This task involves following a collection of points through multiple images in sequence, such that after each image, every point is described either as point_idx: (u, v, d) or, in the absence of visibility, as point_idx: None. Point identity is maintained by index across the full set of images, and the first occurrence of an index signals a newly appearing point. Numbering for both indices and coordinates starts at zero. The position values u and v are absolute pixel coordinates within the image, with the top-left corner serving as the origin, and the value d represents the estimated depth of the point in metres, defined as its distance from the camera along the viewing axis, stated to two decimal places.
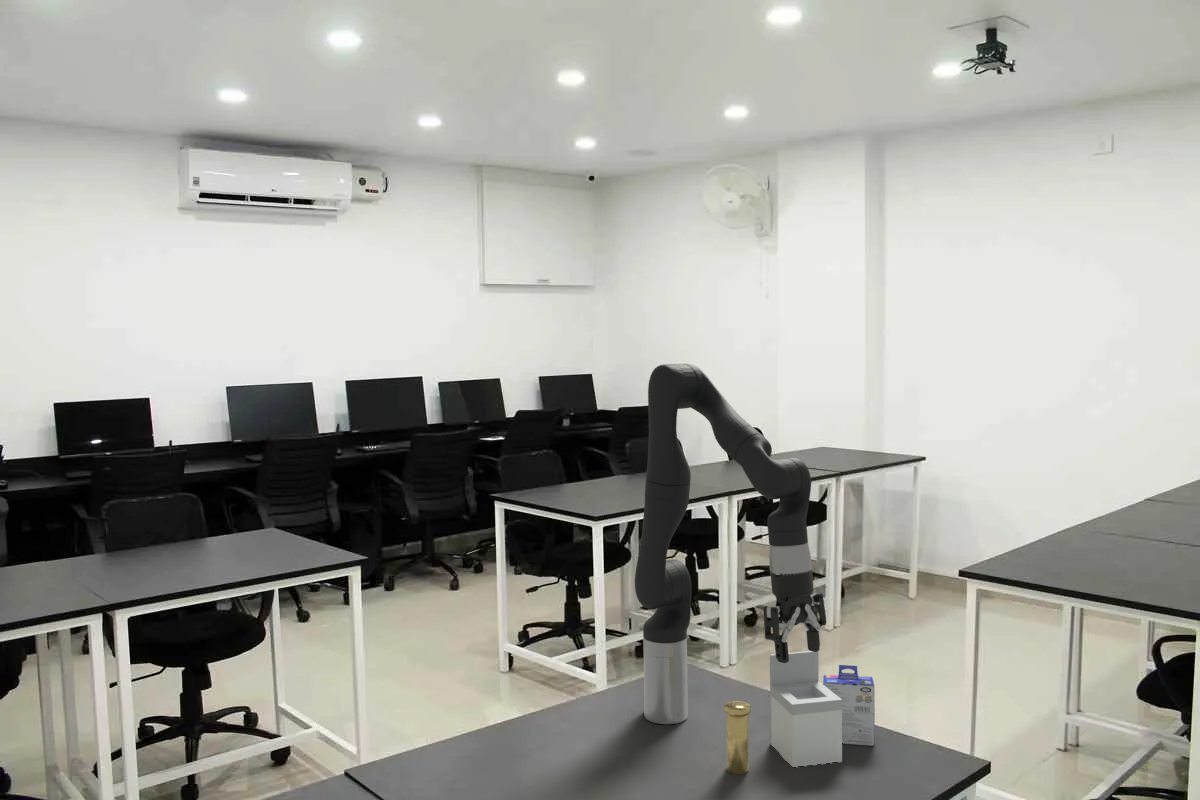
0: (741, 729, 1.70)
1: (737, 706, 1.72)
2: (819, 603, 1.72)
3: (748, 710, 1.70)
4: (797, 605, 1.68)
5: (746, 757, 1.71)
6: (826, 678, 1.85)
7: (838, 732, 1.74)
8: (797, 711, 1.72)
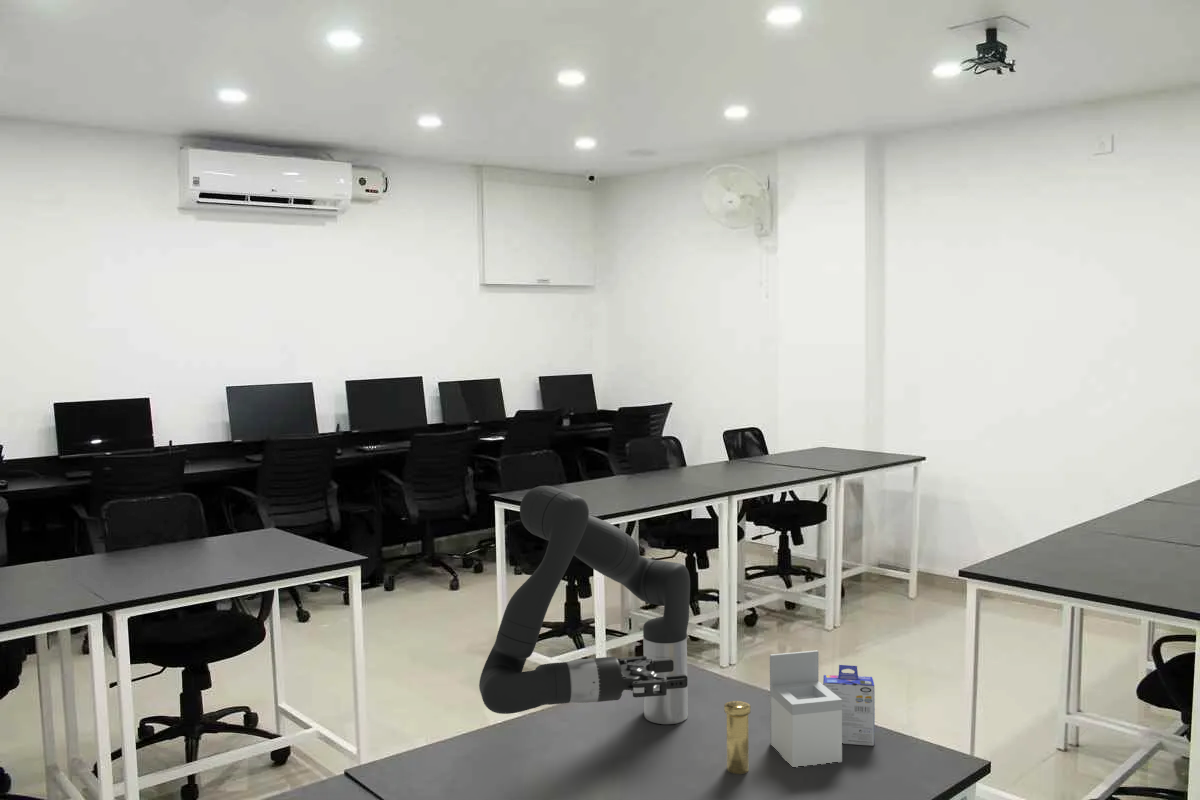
0: (741, 729, 1.70)
1: (737, 706, 1.72)
2: None
3: (748, 710, 1.70)
4: None
5: (746, 757, 1.71)
6: (826, 678, 1.85)
7: (838, 732, 1.74)
8: (797, 711, 1.72)
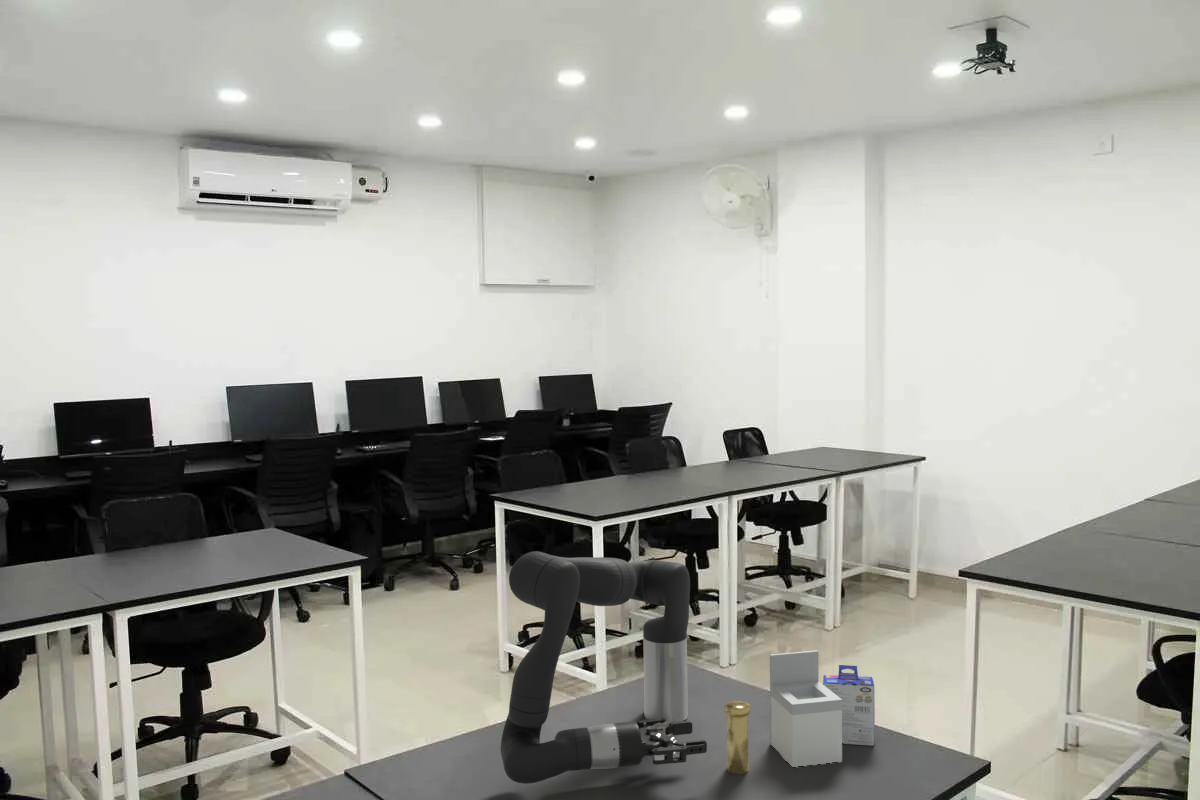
0: (741, 729, 1.70)
1: (737, 706, 1.72)
2: None
3: (748, 710, 1.70)
4: None
5: (746, 757, 1.71)
6: (826, 678, 1.85)
7: (838, 732, 1.74)
8: (797, 711, 1.72)
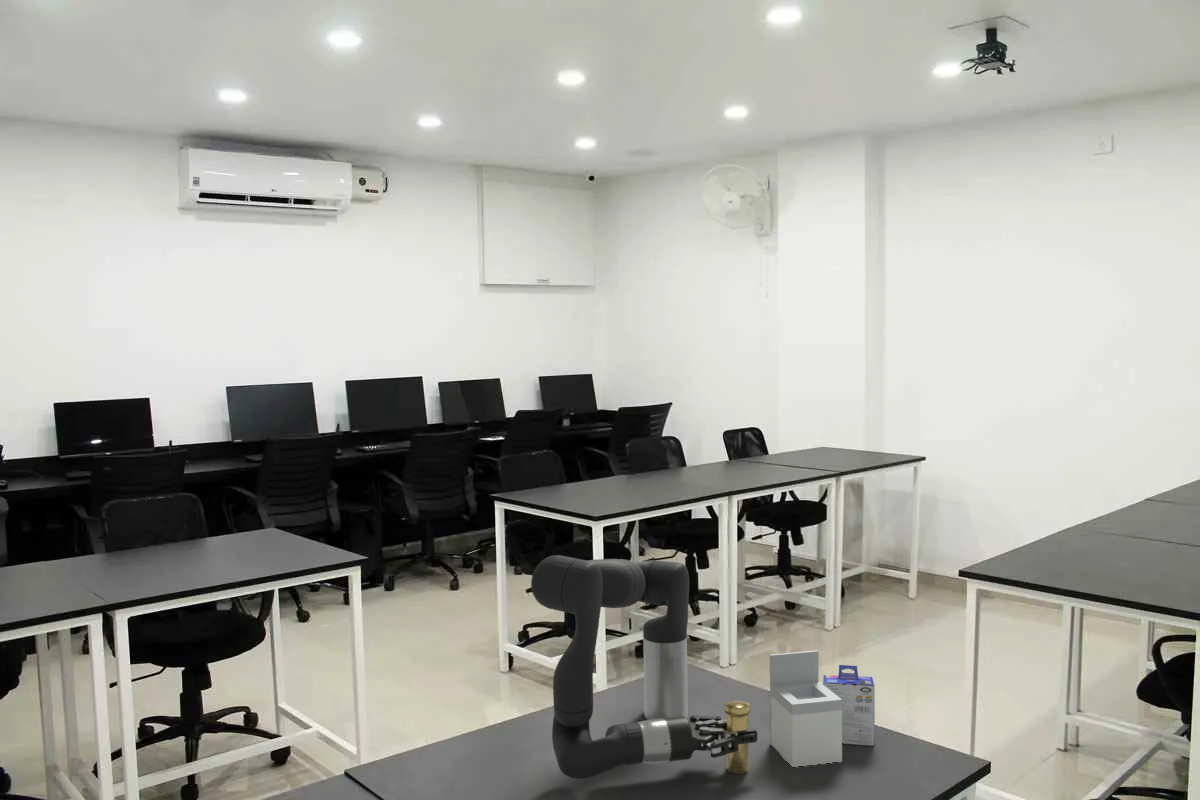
0: (741, 729, 1.70)
1: (737, 706, 1.72)
2: None
3: (748, 710, 1.70)
4: None
5: (746, 757, 1.71)
6: (826, 678, 1.85)
7: (838, 732, 1.74)
8: (797, 711, 1.72)
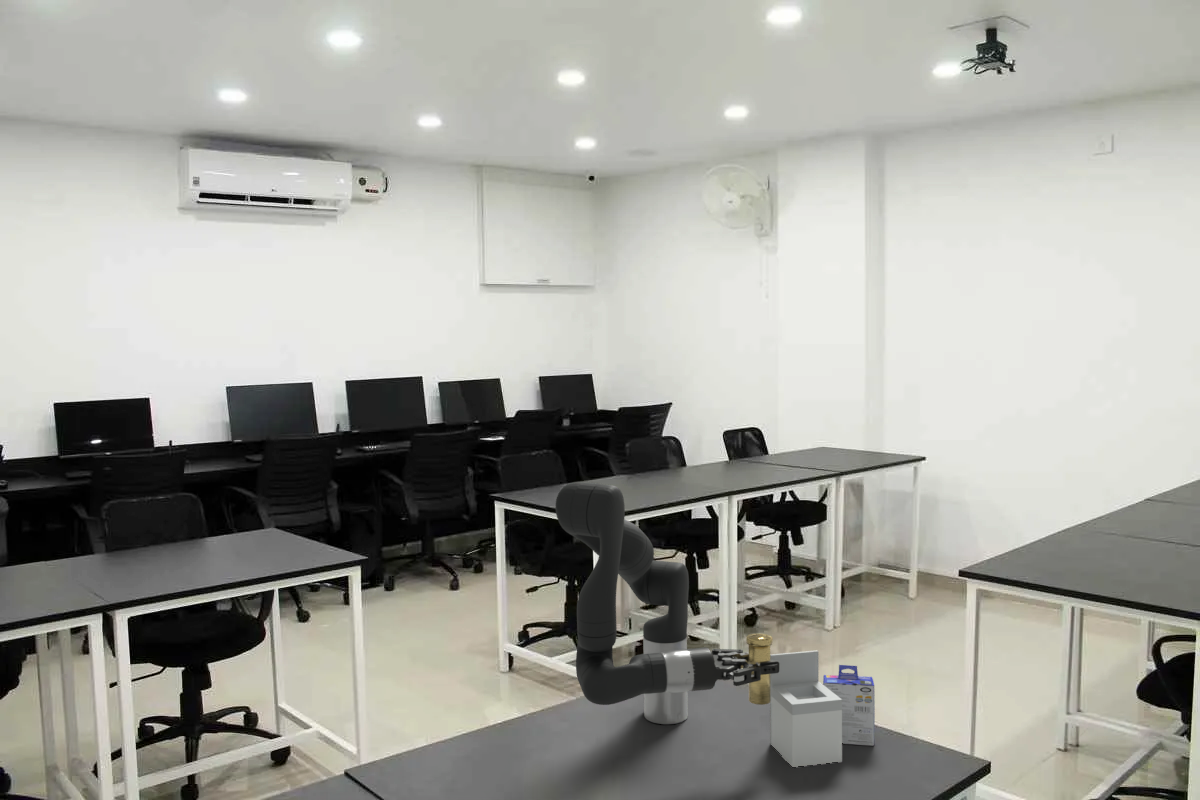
0: (763, 660, 1.71)
1: (759, 638, 1.73)
2: None
3: (770, 641, 1.72)
4: None
5: (768, 688, 1.72)
6: (826, 678, 1.85)
7: (838, 732, 1.74)
8: (797, 711, 1.72)
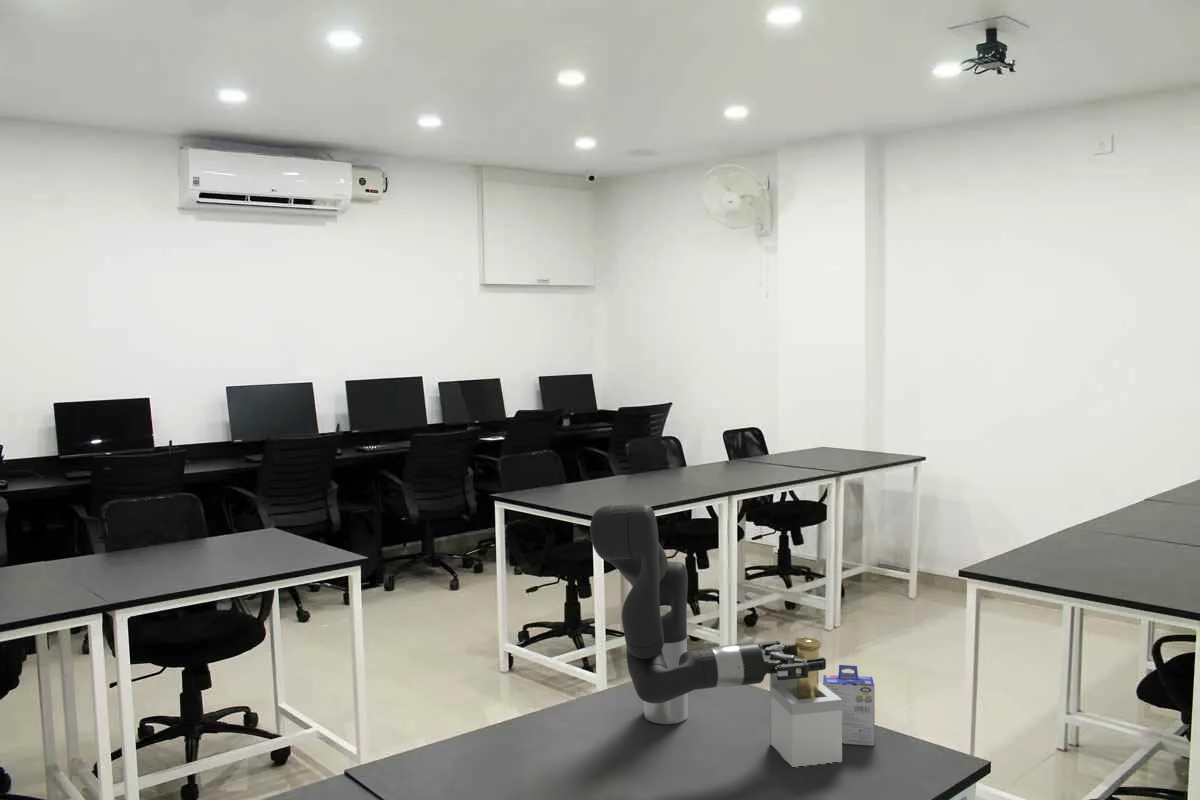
0: None
1: (808, 640, 1.77)
2: None
3: (819, 644, 1.76)
4: None
5: (816, 690, 1.76)
6: (826, 678, 1.85)
7: (838, 732, 1.74)
8: (797, 711, 1.72)
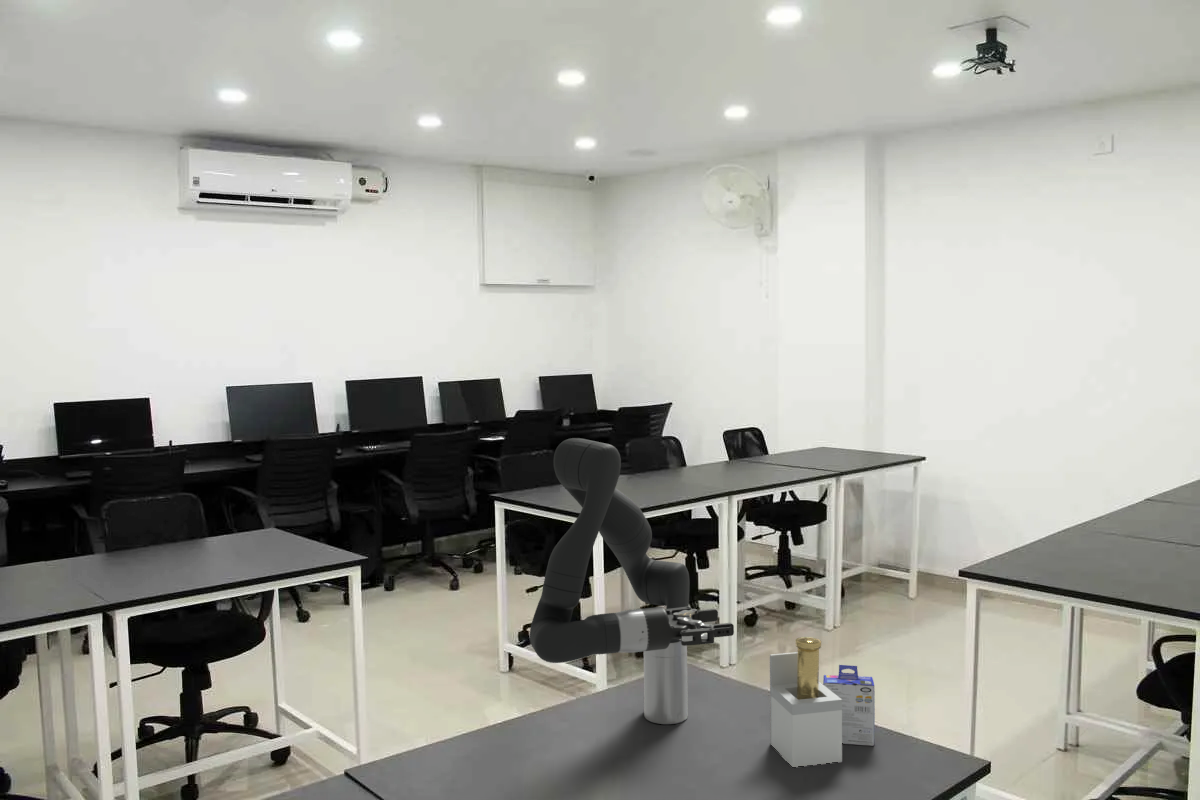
0: (812, 663, 1.76)
1: (808, 641, 1.77)
2: None
3: (819, 644, 1.76)
4: None
5: (816, 691, 1.76)
6: (826, 678, 1.85)
7: (838, 732, 1.74)
8: (797, 711, 1.72)
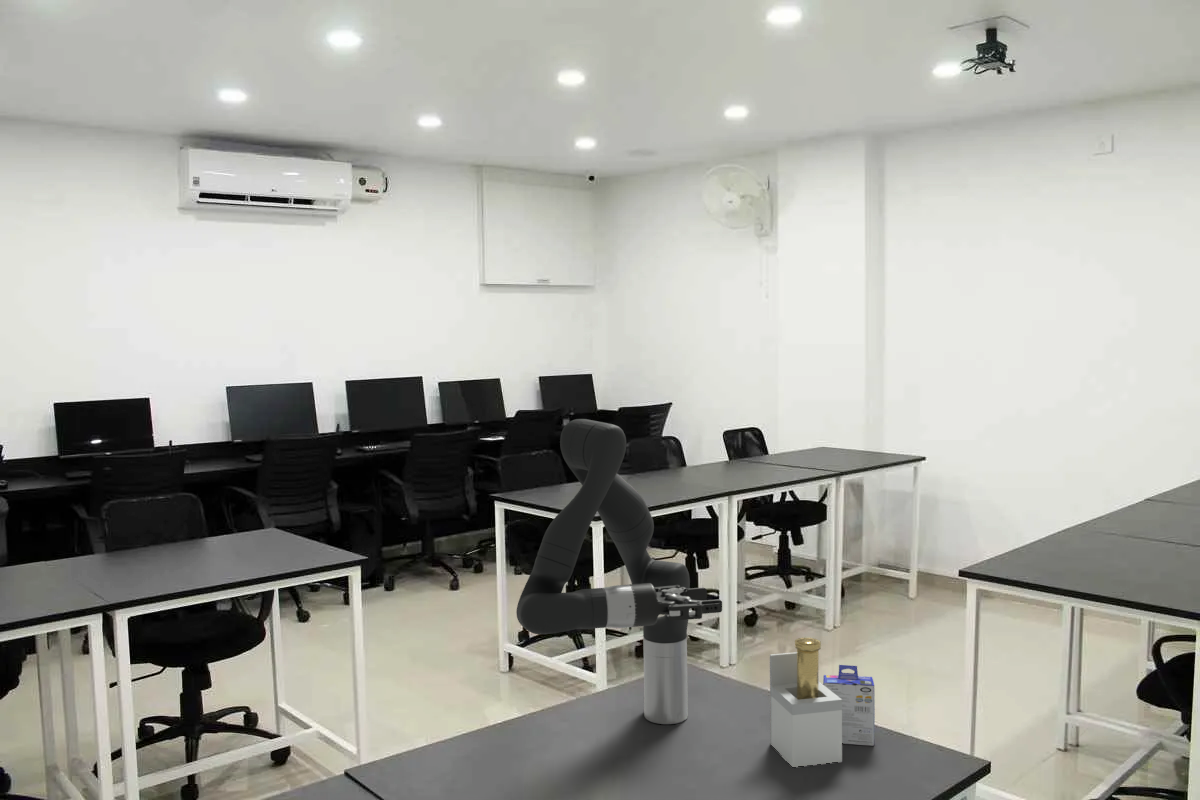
0: (811, 664, 1.75)
1: (807, 642, 1.76)
2: None
3: (819, 646, 1.75)
4: None
5: (816, 691, 1.76)
6: (826, 678, 1.85)
7: (838, 732, 1.74)
8: (797, 711, 1.72)
